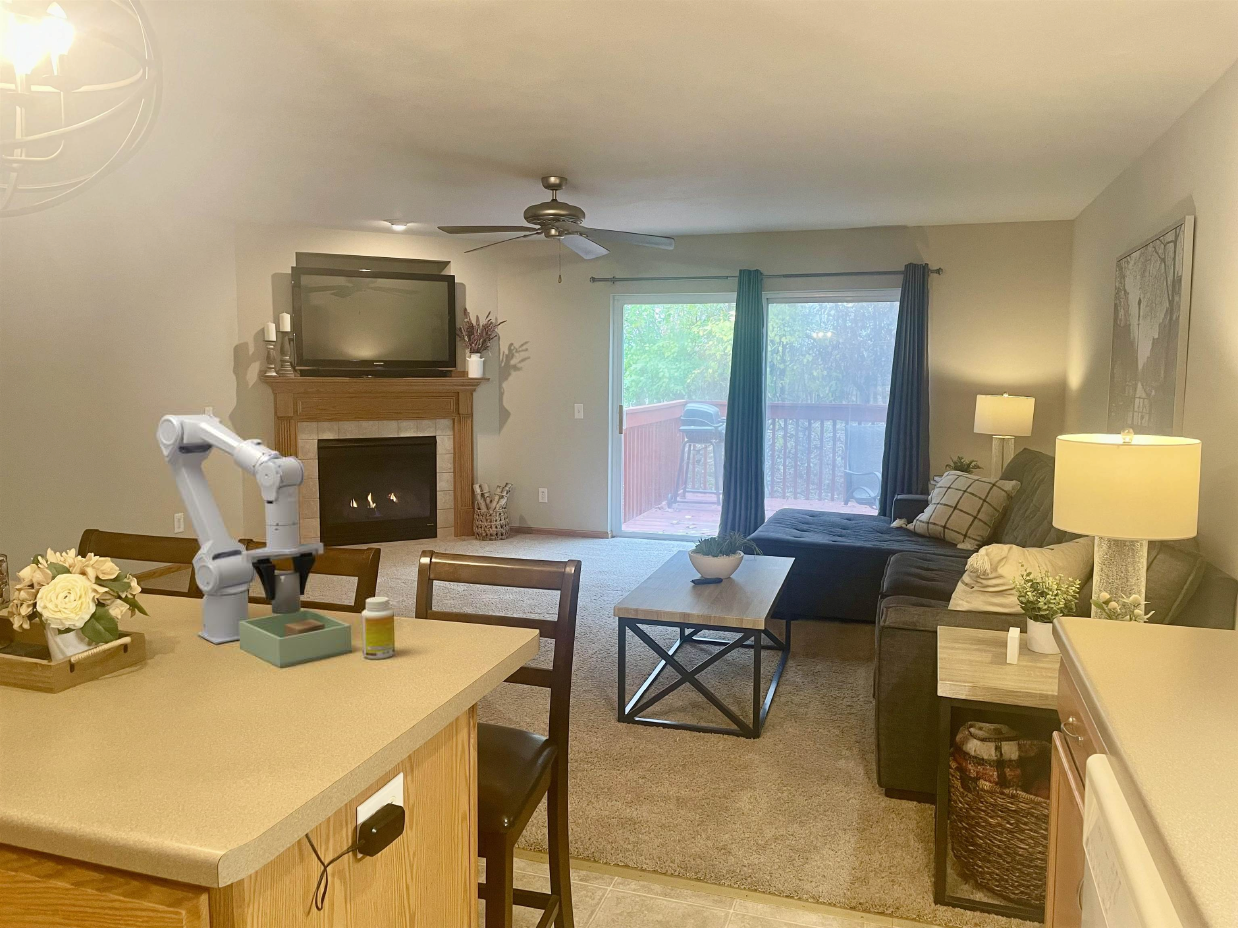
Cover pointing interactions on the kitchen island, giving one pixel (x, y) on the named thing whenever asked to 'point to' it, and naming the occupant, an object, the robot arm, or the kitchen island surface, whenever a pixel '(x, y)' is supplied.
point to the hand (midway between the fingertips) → (285, 596)
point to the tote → (294, 638)
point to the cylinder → (286, 592)
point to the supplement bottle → (378, 629)
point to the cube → (303, 627)
